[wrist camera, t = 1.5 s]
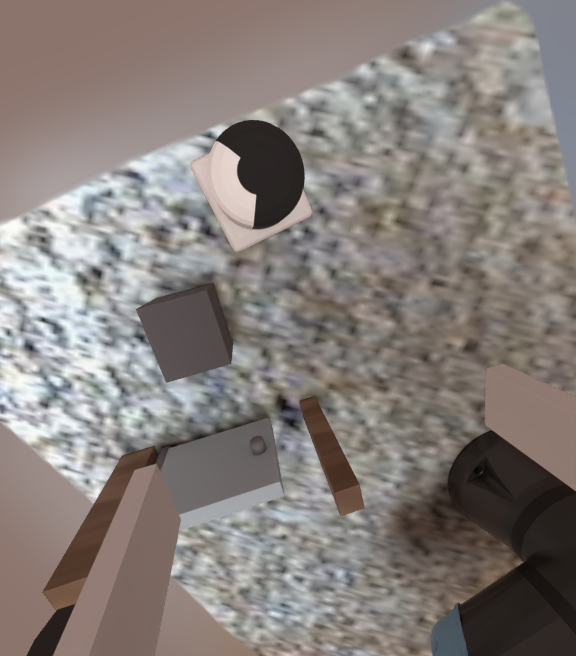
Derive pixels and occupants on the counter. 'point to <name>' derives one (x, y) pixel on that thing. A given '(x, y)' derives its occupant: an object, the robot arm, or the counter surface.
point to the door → (222, 473)
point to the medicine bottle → (253, 182)
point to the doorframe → (95, 526)
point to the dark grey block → (187, 332)
